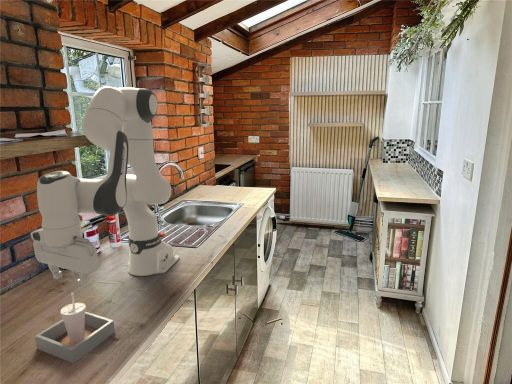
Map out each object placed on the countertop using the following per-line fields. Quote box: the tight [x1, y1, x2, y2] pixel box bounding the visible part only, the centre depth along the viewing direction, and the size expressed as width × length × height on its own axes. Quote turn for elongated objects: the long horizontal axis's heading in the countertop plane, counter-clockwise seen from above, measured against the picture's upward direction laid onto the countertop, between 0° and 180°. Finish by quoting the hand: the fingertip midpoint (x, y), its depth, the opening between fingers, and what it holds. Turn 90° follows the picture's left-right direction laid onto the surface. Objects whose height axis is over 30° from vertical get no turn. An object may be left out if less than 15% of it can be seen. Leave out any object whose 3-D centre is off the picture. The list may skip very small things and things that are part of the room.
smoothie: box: [60, 292, 87, 343], centre depth 97 cm, size 6×6×14 cm
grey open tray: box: [34, 310, 116, 364], centre depth 98 cm, size 14×14×4 cm
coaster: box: [60, 329, 93, 347], centre depth 99 cm, size 8×8×1 cm
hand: (70, 281), depth 95 cm, fingers open, 8 cm apart
